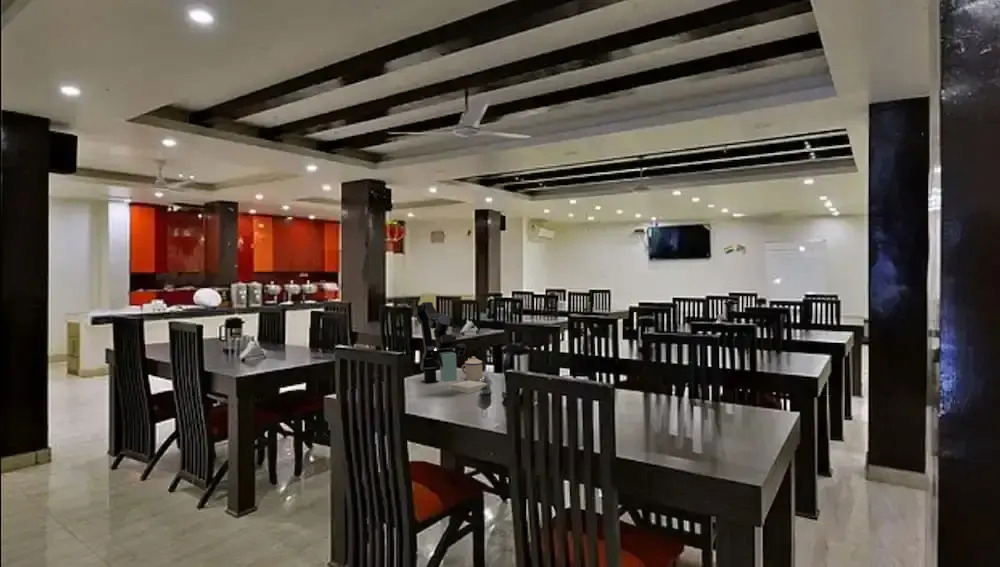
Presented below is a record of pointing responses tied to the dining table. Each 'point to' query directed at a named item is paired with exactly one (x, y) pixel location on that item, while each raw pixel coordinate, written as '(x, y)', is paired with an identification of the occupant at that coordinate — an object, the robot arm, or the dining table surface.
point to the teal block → (448, 367)
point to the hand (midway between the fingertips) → (449, 366)
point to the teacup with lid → (473, 369)
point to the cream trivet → (467, 386)
